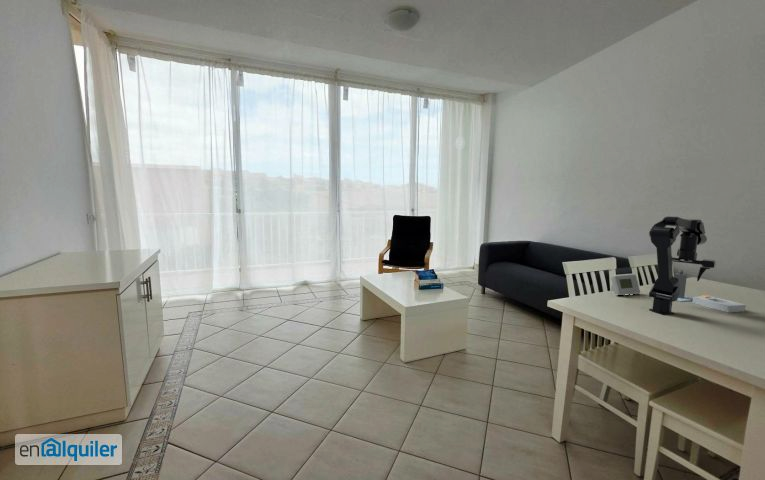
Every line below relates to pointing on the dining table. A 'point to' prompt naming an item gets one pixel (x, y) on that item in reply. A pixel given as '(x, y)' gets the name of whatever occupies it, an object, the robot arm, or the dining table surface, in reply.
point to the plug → (681, 283)
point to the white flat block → (719, 303)
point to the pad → (684, 299)
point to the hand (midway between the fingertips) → (684, 279)
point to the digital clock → (625, 284)
